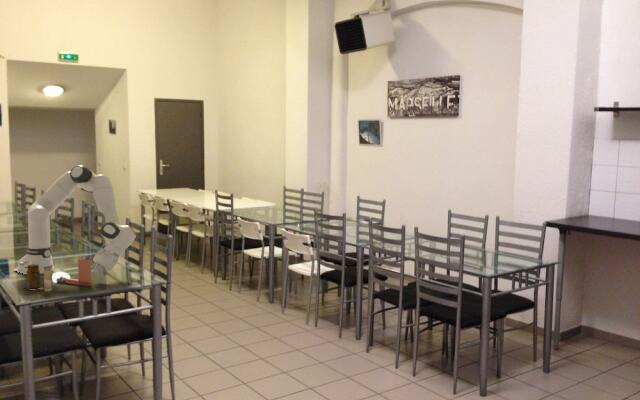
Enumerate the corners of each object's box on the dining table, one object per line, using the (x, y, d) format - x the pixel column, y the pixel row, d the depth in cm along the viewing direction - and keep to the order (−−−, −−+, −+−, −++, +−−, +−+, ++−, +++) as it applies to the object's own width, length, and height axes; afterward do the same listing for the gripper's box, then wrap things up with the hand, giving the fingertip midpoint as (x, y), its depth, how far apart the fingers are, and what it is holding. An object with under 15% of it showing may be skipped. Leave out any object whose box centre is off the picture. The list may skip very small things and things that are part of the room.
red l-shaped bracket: (65, 283, 305) (64, 254, 304) (67, 282, 307) (67, 253, 305) (89, 286, 300) (88, 257, 298) (91, 285, 302) (91, 256, 300)
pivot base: (54, 282, 306) (54, 277, 306) (61, 280, 310) (61, 275, 310) (61, 284, 304) (61, 278, 304) (68, 281, 309) (68, 276, 308)
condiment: (38, 285, 300) (37, 263, 299) (44, 288, 294) (44, 266, 293) (23, 288, 295) (22, 265, 293) (29, 291, 289) (29, 268, 288)
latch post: (45, 289, 293) (44, 264, 292) (53, 289, 294) (52, 264, 292) (43, 291, 290) (42, 266, 288) (51, 291, 290) (50, 266, 289)
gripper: (124, 259, 303) (106, 279, 298) (109, 252, 319) (92, 271, 314) (116, 251, 300) (97, 272, 295) (101, 245, 315) (83, 264, 310)
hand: (94, 272), depth 304 cm, fingers closed
